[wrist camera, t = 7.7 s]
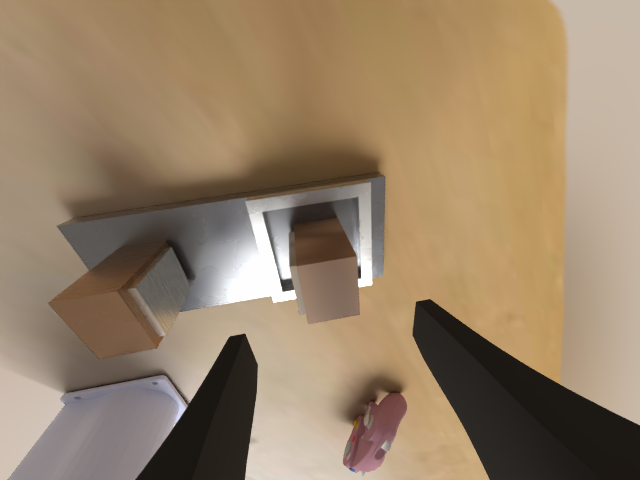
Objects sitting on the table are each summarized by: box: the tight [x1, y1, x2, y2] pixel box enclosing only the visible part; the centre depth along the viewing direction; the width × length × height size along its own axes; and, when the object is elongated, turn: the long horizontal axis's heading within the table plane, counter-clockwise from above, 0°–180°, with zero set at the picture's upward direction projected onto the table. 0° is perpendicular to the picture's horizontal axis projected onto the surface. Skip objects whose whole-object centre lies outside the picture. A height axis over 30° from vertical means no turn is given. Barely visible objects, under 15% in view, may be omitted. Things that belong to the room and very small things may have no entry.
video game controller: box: [343, 392, 407, 476], centre depth 28 cm, size 10×5×7 cm, turn 158°
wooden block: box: [289, 218, 360, 324], centre depth 14 cm, size 3×4×5 cm
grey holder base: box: [48, 173, 385, 359], centre depth 14 cm, size 20×8×6 cm, turn 97°
